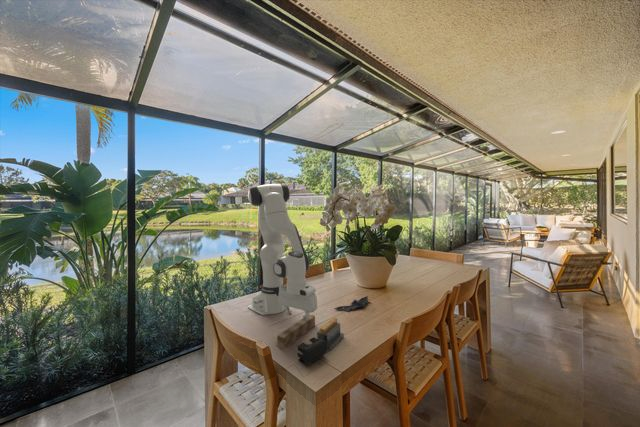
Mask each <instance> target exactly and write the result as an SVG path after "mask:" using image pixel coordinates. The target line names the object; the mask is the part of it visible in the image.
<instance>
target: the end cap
mask: <svg viewBox="0 0 640 427" xmlns="http://www.w3.org/2000/svg"><path fill="white" fill-rule="evenodd" d="M308 341H309V342H310V343H311V344H308V343H305V342H302V343H300V344H298V345H297V351H298V352H297V357H298V358H297V360H298V362H299V363H301V364H302V365H304V366H308V365H310V364H311V363H313V362H315V361H316V360H318V359H319V358H322V357H323V356H324V355H326V354H327V353H328V350H327V344H326V342H325V341H324V340H323V339H320V340H318V339H317V337H311V338H310V339H308Z"/></svg>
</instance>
